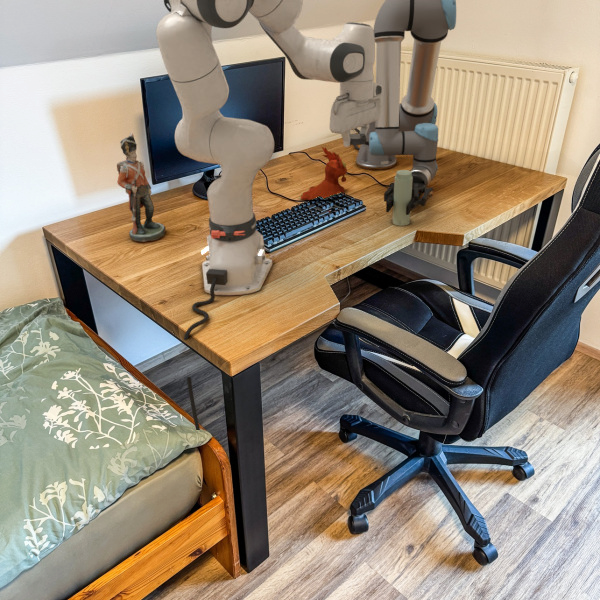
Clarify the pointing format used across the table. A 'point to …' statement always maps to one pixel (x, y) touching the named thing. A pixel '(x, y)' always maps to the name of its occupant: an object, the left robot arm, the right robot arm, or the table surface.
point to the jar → (402, 197)
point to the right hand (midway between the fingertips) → (397, 209)
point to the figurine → (138, 193)
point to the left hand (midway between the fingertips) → (355, 143)
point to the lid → (358, 139)
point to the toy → (329, 178)
